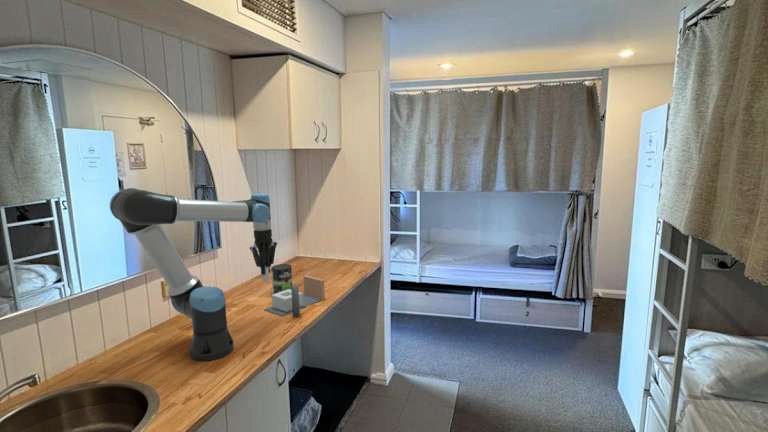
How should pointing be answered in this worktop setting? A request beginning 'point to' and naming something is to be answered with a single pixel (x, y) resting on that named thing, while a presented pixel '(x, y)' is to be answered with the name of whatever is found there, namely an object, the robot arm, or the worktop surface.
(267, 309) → the rubber mat
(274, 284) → the coffee can
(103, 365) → the worktop surface
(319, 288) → the wall
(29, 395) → the worktop surface
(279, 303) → the hole block
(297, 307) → the dowel
